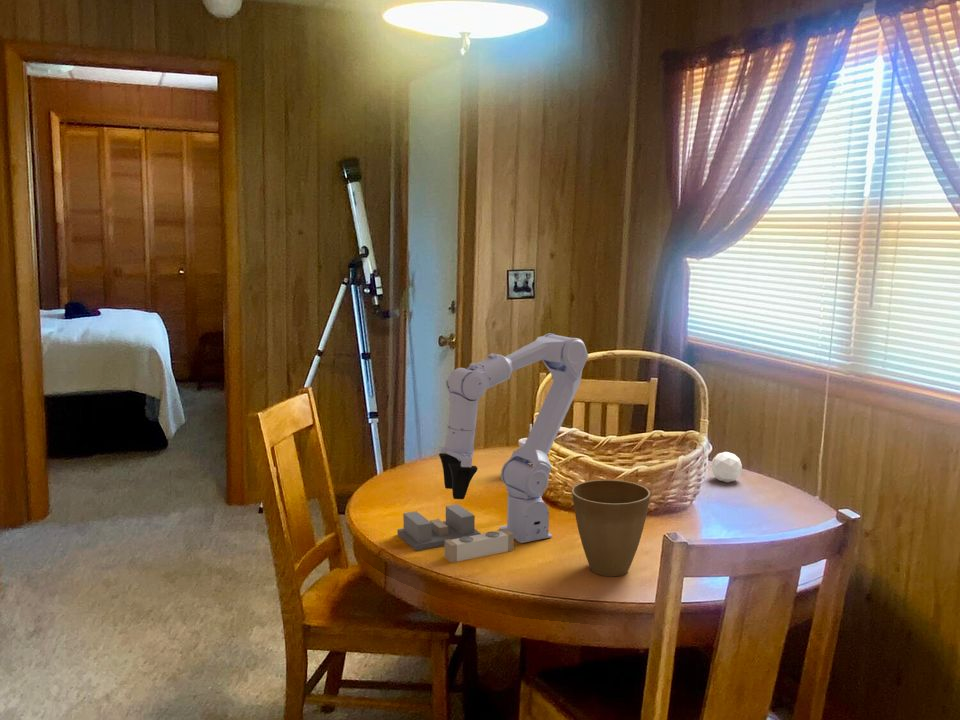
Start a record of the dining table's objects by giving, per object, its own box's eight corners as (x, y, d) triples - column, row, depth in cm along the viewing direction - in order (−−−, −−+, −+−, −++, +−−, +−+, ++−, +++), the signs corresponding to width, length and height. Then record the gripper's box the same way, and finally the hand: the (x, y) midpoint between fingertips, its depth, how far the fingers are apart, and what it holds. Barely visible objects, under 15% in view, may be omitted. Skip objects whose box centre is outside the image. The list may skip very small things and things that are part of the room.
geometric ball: (727, 488, 225) (742, 463, 226) (735, 487, 217) (751, 460, 218) (702, 473, 226) (717, 447, 227) (709, 471, 218) (725, 444, 219)
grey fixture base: (459, 523, 191) (460, 502, 190) (480, 538, 182) (480, 516, 181) (397, 534, 184) (397, 512, 183) (416, 550, 175) (415, 527, 174)
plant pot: (640, 554, 174) (643, 479, 171) (652, 586, 159) (656, 504, 157) (567, 553, 175) (569, 477, 172) (572, 584, 160) (574, 502, 157)
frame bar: (513, 550, 176) (513, 533, 175) (451, 562, 169) (451, 545, 169) (505, 545, 179) (506, 528, 178) (444, 557, 172) (444, 539, 171)
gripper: (434, 419, 178) (428, 483, 179) (449, 434, 164) (442, 502, 166) (467, 421, 180) (460, 484, 181) (485, 436, 166) (477, 504, 167)
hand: (454, 493), depth 174 cm, fingers open, 7 cm apart
